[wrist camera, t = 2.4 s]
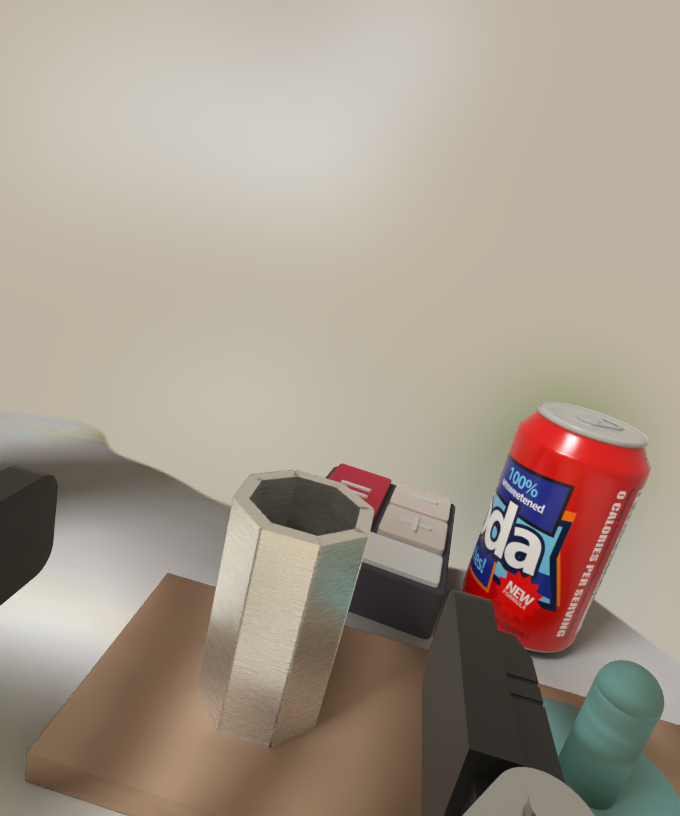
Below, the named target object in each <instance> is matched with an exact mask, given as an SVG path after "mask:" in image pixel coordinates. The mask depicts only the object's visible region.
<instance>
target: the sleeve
mask: <svg viewBox="0 0 680 816" xmlns="http://www.w3.org/2000/svg"><path fill="white" fill-rule="evenodd" d="M373 509H374V508H373V507H371V506H370V505H369V504H368V503H366V502H365V501H364V500H363V499H362V498H360V497H359V496H358V495H357V494H356V493H354V492H353V491H352V490H351V489H349V488H348V487H347V486H346V485H345V484H342V483H340V482H337V481H333V480H330V479H326V478H322V477H319V476H315V475H311V474H308V473H304V472H301V471H297V470H296V471H294V470H288V471H278V472H268V473H257V474H251V475H249V477H248V478H247V479H246V481H245V482H244V484H242V486H241V487H240V488H239V490H238V491H237V492H236V494H235V495H234V496H233V501H232V506H231V511H230V517H229V522H228V527H227V532H226V538H225V543H224V548H223V553H222V559H221V564H220V569H219V574H218V580H217V585H216V590H215V595H214V600H213V606H212V611H211V616H210V621H209V627H208V632H207V637H206V642H205V648H204V653H203V658H202V663H201V669H200V674H199V679H198V684H197V694H198V696H199V698H200V700H201V702H202V704H203V705H204V707H205V709H206V711H207V713H208V715H209V717H210V719H211V721H212V723H213V725H214V726H215V728H216V730H217V731H218V730H219V733H222V734H225V735H228V736H231V737H234V738H238V739H241V740H244V741H247V742H250V743H253V744H256V745H260V746H263V747H266V748H269V745H270V747H271V748H273V747H275V746H277V745H279V744H282V743H284V742H286V741H288V740H290V739H292V738H295V737H297V736H299V735H301V734H303V733H306V732H308V731H310V730H312V729H314V727H315V726H316V723H317V719H318V716H319V712H320V708H321V705H322V701H323V698H324V694H325V691H326V687H327V684H328V680H329V677H330V673H331V670H332V666H333V663H334V659H335V656H336V652H337V648H338V645H339V641H340V638H341V634H342V631H343V627H344V624H345V620H346V617H347V613H348V610H349V606H350V603H351V599H352V596H353V592H354V588H355V585H356V581H357V578H358V574H359V571H360V567H361V564H362V560H363V557H364V553H365V550H366V546H367V543H368V539H369V536H370V530H371V525H372V520H373V515H374V510H373Z"/></svg>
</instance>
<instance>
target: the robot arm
mask: <svg viewBox="0 0 680 816" xmlns="http://www.w3.org/2000/svg"><path fill="white" fill-rule="evenodd" d="M56 501H57V481H56V479H55V477H54V476H52V475H49V474H45V473H42V472H38V471H35V470H31V469H27V468H24V467H20V466H11V467H9V468H7V469H5V470H3V471H1V472H0V605H2V604H3V603H4V602H5V601H6V600H8V599H9V598H10V597H11V596H12V595H14V594H15V593H16V592H17V591H18V590H20V589H21V588H22V587H23V586H24V585H26V584H27V583H28V582H29V581H30V580H32V579H33V578H34V577H35V576H36V575H37V574H38V573H39V572H40V571H41V570H42V569H43V567H44V566H45V564H46V562H47V560H48V558H49V556H50V554H51V551H52V547H53V538H54V526H55V513H56ZM422 816H595V815H594V814H593V812H592V811H591V810H590V808H589V807H588V806H587V804H586V803H585V802H584V801H583V800H582V799H581V798H580V796H579V795H578V794H576V793H575V792H574V791H573V790H572V789H571V788H570V787H568V786H567V785H566V784H565V781H564V777H563V773H562V770H561V766H560V762H559V758H558V755H557V751H556V747H555V743H554V740H553V736H552V732H551V728H550V725H549V721H548V717H547V713H546V710H545V707H543V698H542V695H541V691H540V687H538V680H537V676H536V672H535V668H534V665H533V661H532V658H531V657H530V655H529V654H528V652H527V651H526V650H525V648H524V647H523V645H522V644H521V643H520V641H519V640H518V639H517V637H516V636H515V635H512V634H509V633H505V632H502V631H498V627H497V622H496V617H495V612H494V607H493V603H492V601H491V600H490V599H487V598H483V597H479V596H476V595H472V594H469V593H465V592H462V591H458V590H455V589H452V590H451V591H450V592H449V594H448V597H447V599H446V602H445V605H444V608H443V611H442V614H441V617H440V620H439V623H438V626H437V629H436V632H435V635H434V638H433V641H432V644H431V647H430V650H429V654H428V657H427V661H426V665H425V670H424V676H423V684H422Z"/></svg>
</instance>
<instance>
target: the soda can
mask: <svg viewBox="0 0 680 816" xmlns="http://www.w3.org/2000/svg"><path fill="white" fill-rule="evenodd" d="M648 443H649V439H648V437H647V436H646V435H645V434H644V433H642V432H641V431H639V430H638V429H636V428H634V427H632V426H630V425H628V424H626V423H624V422H622V421H620V420H617V419H615V418H613V417H610V416H607V415H605V414H602V413H599V412H596V411H593V410H590V409H586V408H583V407H579V406H575V405H571V404H567V403H561V402H554V401H543V402H540V403H539V404H538V407H537V411H536V412H535V413H533V414H532V415H531V416H529V417H528V418H527V419H525V420H524V421H522V422H521V423H520V424H519V426H518V429H517V431H516V434H515V437H514V439H513V442H512V445H511V448H510V451H509V453H508V456H507V459H506V462H505V465H504V467H503V470H502V473H501V476H500V479H499V482H498V484H497V488H496V490H495V493H494V496H493V499H492V501H491V504H490V507H489V510H488V513H487V515H486V518H485V521H484V524H483V527H482V530H481V532H480V535H479V538H478V541H477V544H476V547H475V549H474V552H473V555H472V558H471V561H470V563H469V567H468V569H467V572H466V575H465V578H464V581H463V585H462V592H465V593H469V594H472V595H476V596H479V597H483V598H487V599H490V600H491V601H492V603H493V607H494V612H495V617H496V622H497V627H498V631H502V632H505V633H509V634H512V635H515V636H516V637H517V639H518V640H519V641H520V643H521V644H522V645H523V647H524V648H525V649H527V650H531V651H536V652H558V651H562V650H564V649H566V648H568V647H569V646H571V645H572V643H573V642H574V640H575V639H576V637H577V635H578V633H579V631H580V629H581V626H582V624H583V622H584V620H585V618H586V615H587V613H588V611H589V609H590V606H591V604H592V602H593V600H594V597H595V595H596V593H597V591H598V588H599V586H600V584H601V582H602V579H603V577H604V575H605V573H606V570H607V568H608V566H609V564H610V561H611V559H612V557H613V555H614V553H615V550H616V548H617V545H618V544H619V541H620V539H621V537H622V535H623V532H624V530H625V528H626V526H627V523H628V521H629V519H630V516H631V515H632V512H633V510H634V508H635V506H636V503H637V501H638V499H639V497H640V494H641V492H642V490H643V488H644V485H645V483H646V481H647V478H648V476H649V473H650V466H649V462H648V459H647V455H646V450H645V447H646V446H647V445H648Z"/></svg>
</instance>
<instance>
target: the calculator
mask: <svg viewBox="0 0 680 816" xmlns="http://www.w3.org/2000/svg"><path fill="white" fill-rule="evenodd" d="M326 479H330V480H333V481H337V482H340V483H342V484H345V485H346V486H347V487H348V488H349V489H351V490H352V491H353V492H354V493H356V494H357V495H358V496H359V497H360V498H362V499H363V500H364V501H365V502H366V503H368V504H369V505H370V506H371V507H373V508H374V509H373V510H374V515H373V520H372V525H371V530H370V536H369V539H368V543H367V546H366V550H365V553H364V557H363V560H362V564H361V567H360V571H359V574H358V578H357V581H356V585H355V588H354V592H353V596H352V599H351V603H350V606H349V610H348V611H350V612H352V613H355V614H358V615H360V616H363V617H366V618H368V619H371V620H374V621H376V622H379V623H382V624H384V625H387V626H390V627H392V628H395V629H398V630H400V631H403V632H406V633H408V634H411V635H414V636H416V637H419V638H422V639H428V638H429V637H430V635H431V632H432V629H433V626H434V623H435V620H436V617H437V614H438V611H439V608H440V605H441V602H442V599H443V596H444V593H445V585H446V577H447V569H448V561H449V554H450V546H451V537H452V529H453V522H454V514H455V506H454V505H453V504H451V499H449V498H446V497H444V496H440V495H437V494H434V493H431V492H428V491H425V490H422V489H419V488H416V487H413V486H410V485H407V484H404V483H398V484H397V486H396V485H393V484H391V480H390V479H388V478H385V477H382V476H379V475H376V474H373V473H370V472H367V471H364V470H361V469H358V468H355V467H351V466H348V465H345V464H340V465H339V466H338V467H334V468H333V470H332V471H331V472H330V473H329V474H328V476H327V477H326Z"/></svg>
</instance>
